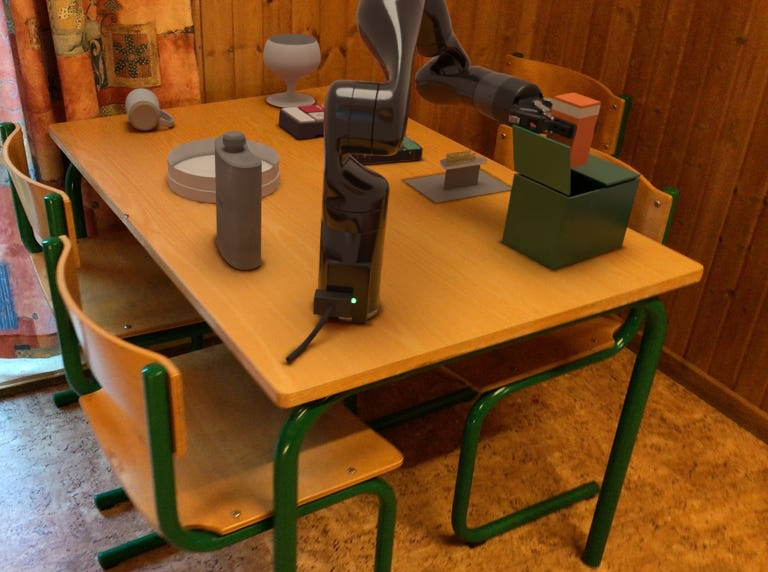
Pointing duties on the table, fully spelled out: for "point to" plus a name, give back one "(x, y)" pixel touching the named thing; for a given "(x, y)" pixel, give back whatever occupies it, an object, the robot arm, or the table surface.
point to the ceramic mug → (146, 110)
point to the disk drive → (406, 152)
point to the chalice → (291, 65)
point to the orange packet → (583, 116)
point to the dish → (213, 169)
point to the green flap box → (571, 214)
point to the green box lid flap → (542, 159)
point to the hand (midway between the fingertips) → (585, 129)
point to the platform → (458, 179)
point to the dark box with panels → (303, 121)
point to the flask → (238, 201)
